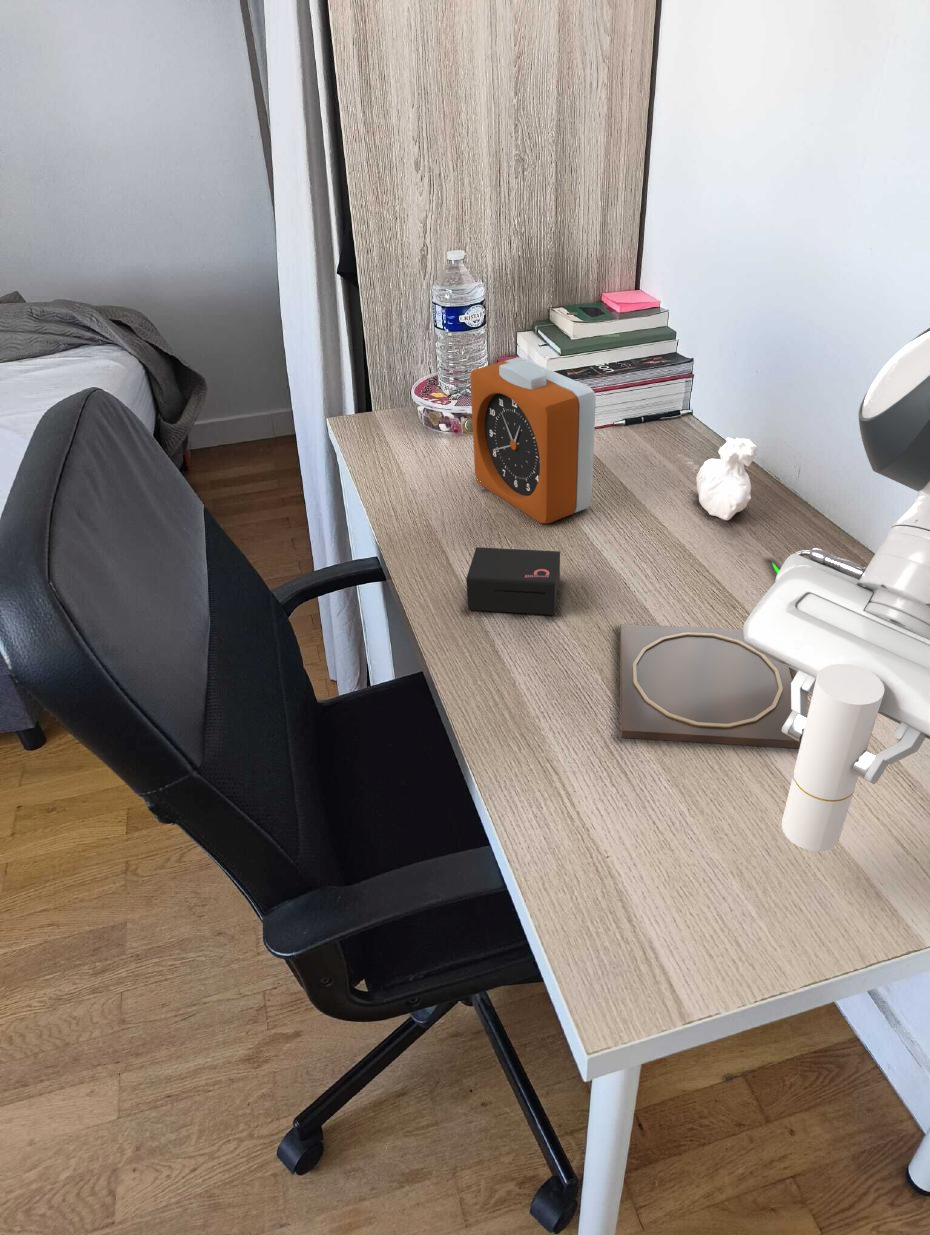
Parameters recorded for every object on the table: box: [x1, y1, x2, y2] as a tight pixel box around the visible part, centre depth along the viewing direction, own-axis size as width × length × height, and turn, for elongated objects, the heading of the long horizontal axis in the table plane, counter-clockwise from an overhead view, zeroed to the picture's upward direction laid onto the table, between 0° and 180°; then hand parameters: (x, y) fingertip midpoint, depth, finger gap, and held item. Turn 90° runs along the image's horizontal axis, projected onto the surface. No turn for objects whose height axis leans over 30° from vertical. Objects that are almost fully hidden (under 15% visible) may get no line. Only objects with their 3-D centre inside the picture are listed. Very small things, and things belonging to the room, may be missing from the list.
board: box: [619, 623, 801, 749], centre depth 90 cm, size 18×18×1 cm
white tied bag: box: [695, 436, 759, 521], centre depth 119 cm, size 12×8×11 cm
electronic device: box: [466, 546, 561, 616], centre depth 104 cm, size 7×11×5 cm
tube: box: [781, 664, 884, 852], centre depth 62 cm, size 4×4×15 cm
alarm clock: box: [469, 356, 597, 524], centre depth 121 cm, size 18×9×21 cm, turn 33°
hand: (826, 757), depth 61 cm, fingers closed on tube, 4 cm apart
